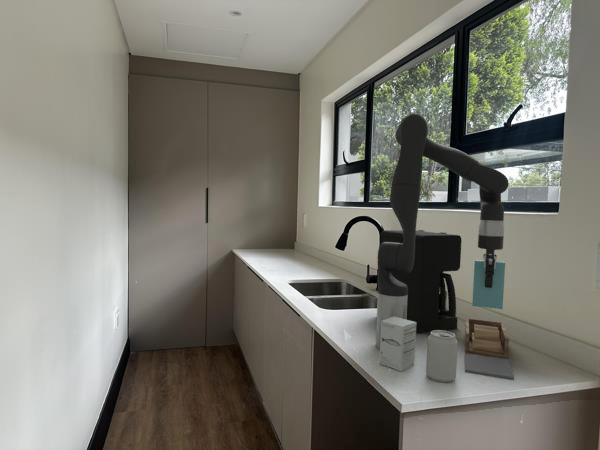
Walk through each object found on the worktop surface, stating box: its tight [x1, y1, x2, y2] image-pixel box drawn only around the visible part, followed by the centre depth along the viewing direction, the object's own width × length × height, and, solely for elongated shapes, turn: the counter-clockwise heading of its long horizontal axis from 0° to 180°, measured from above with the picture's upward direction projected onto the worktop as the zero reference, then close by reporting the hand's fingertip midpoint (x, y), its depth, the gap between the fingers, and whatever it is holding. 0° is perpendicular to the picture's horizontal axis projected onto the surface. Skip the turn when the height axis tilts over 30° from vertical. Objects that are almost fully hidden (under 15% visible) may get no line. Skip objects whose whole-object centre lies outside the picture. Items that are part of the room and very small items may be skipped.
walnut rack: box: [464, 317, 510, 359], centre depth 135 cm, size 16×12×7 cm
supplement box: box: [378, 317, 417, 372], centre depth 118 cm, size 7×7×13 cm
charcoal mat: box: [464, 352, 515, 380], centre depth 119 cm, size 14×12×1 cm
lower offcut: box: [472, 333, 501, 353], centre depth 133 cm, size 7×8×3 cm
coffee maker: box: [380, 229, 462, 335], centre depth 160 cm, size 28×20×35 cm
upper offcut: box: [474, 324, 499, 342], centre depth 133 cm, size 6×7×3 cm
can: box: [425, 330, 459, 383], centre depth 110 cm, size 8×8×12 cm
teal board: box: [471, 259, 506, 310], centre depth 138 cm, size 3×9×15 cm, turn 68°
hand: (488, 286), depth 138 cm, fingers closed on teal board, 3 cm apart
